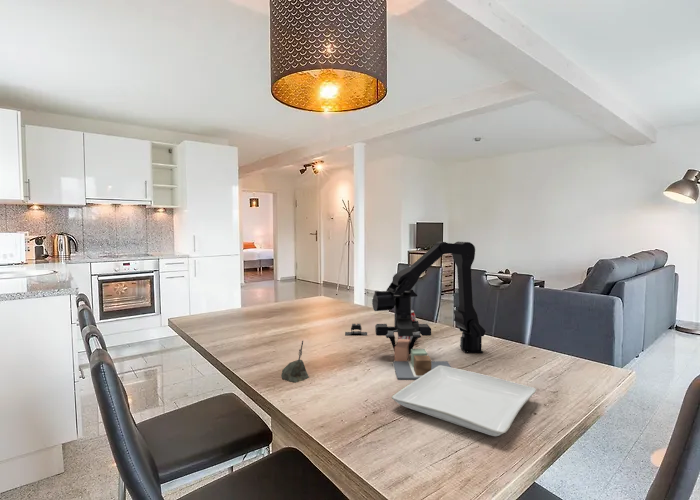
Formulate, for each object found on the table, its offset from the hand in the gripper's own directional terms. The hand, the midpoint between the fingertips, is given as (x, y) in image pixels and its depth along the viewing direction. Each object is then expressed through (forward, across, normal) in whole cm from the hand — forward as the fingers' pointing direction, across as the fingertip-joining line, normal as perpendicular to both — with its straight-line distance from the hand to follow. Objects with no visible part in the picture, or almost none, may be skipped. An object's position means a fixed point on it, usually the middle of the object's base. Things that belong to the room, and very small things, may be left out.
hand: (402, 353), depth 132 cm
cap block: (+1, 0, 0) cm, 1 cm away
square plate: (+1, +11, -36) cm, 38 cm away
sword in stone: (+2, -35, -17) cm, 39 cm away
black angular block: (+2, -16, +29) cm, 33 cm away
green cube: (0, +4, -10) cm, 10 cm away
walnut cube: (0, +4, -16) cm, 16 cm away
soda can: (+1, +4, +19) cm, 19 cm away
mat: (+1, +5, -13) cm, 14 cm away
